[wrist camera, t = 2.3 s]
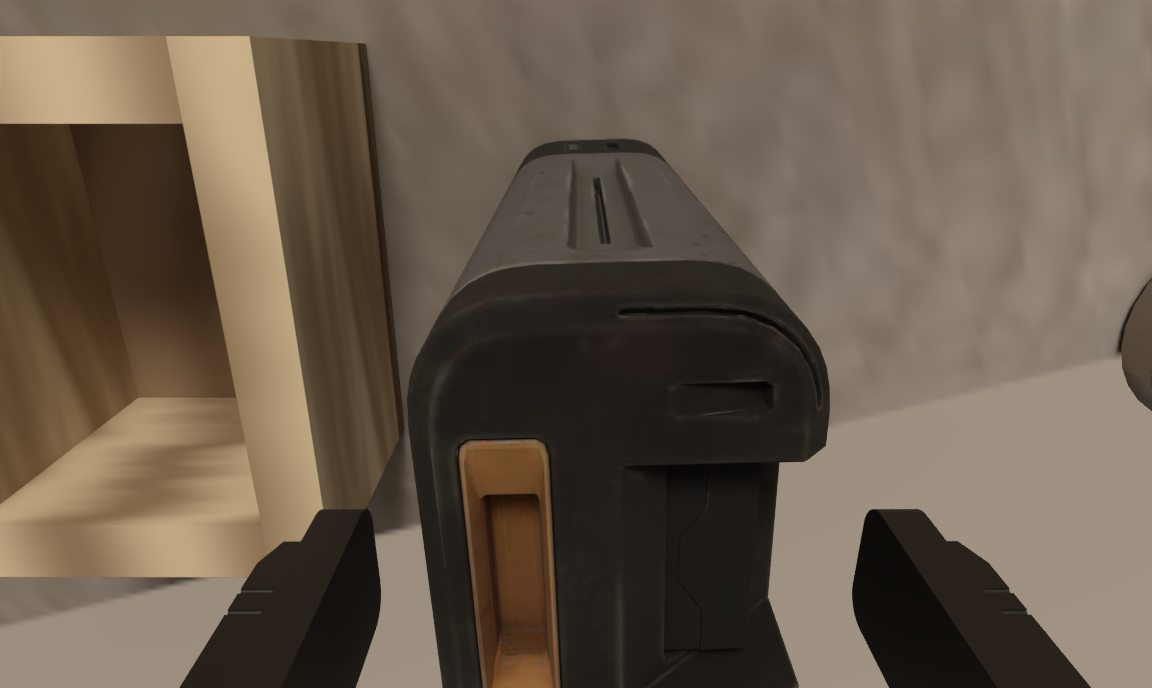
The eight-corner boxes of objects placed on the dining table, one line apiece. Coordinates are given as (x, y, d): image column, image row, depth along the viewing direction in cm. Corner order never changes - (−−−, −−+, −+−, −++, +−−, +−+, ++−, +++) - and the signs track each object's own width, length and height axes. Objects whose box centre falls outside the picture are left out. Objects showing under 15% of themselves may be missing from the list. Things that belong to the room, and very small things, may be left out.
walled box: (365, 43, 26) (249, 36, 17) (404, 428, 32) (333, 577, 23) (13, 43, 26) (-294, 36, 17) (117, 427, 32) (-70, 576, 23)
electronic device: (665, 358, 31) (794, 807, 12) (527, 361, 31) (452, 812, 13) (669, 135, 28) (856, 296, 9) (514, 139, 28) (382, 309, 9)
